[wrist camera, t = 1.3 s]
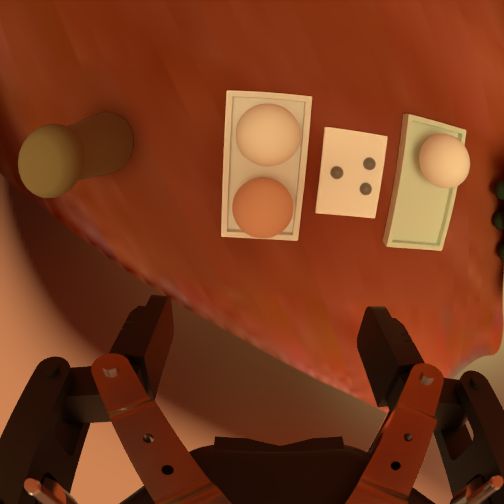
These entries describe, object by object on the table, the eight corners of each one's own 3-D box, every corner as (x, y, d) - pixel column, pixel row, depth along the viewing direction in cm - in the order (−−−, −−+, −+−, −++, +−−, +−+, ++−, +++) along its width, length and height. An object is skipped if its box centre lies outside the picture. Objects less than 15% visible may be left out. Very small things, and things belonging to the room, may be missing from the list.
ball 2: (235, 170, 27) (231, 183, 22) (292, 174, 27) (300, 187, 23) (232, 224, 29) (228, 246, 25) (287, 227, 29) (293, 250, 25)
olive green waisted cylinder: (137, 114, 25) (75, 121, 15) (130, 177, 28) (71, 216, 18) (82, 110, 25) (7, 120, 15) (77, 170, 27) (8, 204, 17)
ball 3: (413, 126, 25) (440, 131, 20) (454, 136, 25) (483, 144, 20) (406, 177, 27) (431, 190, 22) (446, 184, 27) (474, 198, 22)
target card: (323, 126, 26) (326, 127, 25) (385, 135, 26) (390, 137, 25) (314, 211, 29) (316, 215, 28) (372, 216, 29) (377, 220, 28)
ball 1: (238, 102, 24) (235, 100, 20) (298, 106, 25) (307, 106, 20) (235, 159, 27) (231, 169, 22) (293, 163, 27) (301, 174, 22)
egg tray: (227, 91, 24) (226, 90, 23) (309, 97, 25) (312, 96, 23) (222, 231, 30) (221, 236, 29) (296, 235, 30) (297, 240, 29)
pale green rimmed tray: (403, 113, 25) (408, 114, 24) (459, 129, 25) (466, 130, 24) (382, 241, 30) (386, 246, 29) (436, 246, 30) (441, 250, 29)
